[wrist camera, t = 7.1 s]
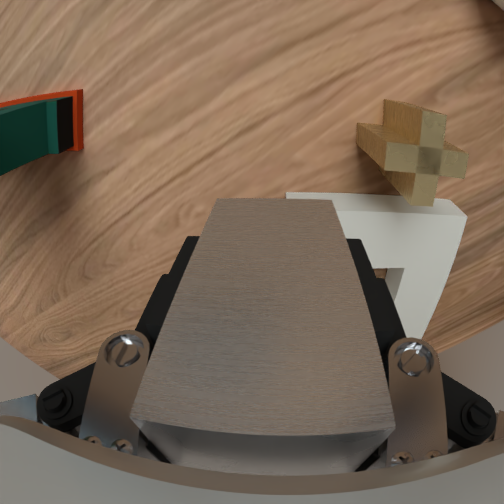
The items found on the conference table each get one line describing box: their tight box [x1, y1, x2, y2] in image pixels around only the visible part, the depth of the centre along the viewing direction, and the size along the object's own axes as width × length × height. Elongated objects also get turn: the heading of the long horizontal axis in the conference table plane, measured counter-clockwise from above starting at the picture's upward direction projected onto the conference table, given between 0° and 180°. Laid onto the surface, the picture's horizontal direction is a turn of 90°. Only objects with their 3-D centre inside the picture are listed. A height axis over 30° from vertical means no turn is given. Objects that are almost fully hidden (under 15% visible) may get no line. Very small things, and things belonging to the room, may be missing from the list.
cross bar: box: [356, 99, 469, 207], centre depth 21 cm, size 7×7×8 cm
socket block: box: [286, 192, 467, 339], centre depth 31 cm, size 18×18×4 cm
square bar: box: [129, 198, 396, 476], centre depth 8 cm, size 4×4×8 cm
